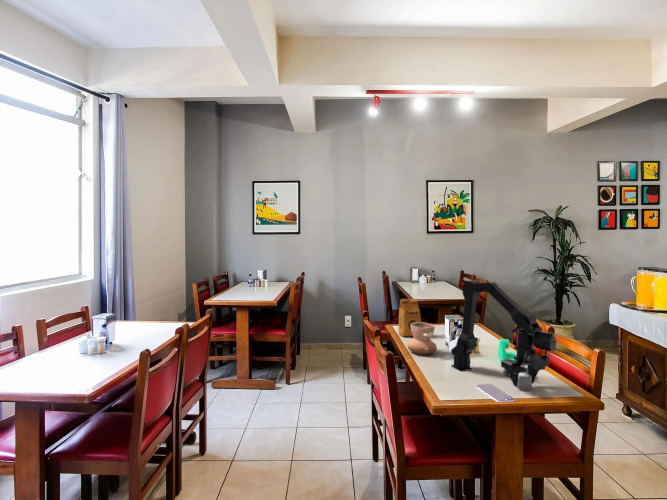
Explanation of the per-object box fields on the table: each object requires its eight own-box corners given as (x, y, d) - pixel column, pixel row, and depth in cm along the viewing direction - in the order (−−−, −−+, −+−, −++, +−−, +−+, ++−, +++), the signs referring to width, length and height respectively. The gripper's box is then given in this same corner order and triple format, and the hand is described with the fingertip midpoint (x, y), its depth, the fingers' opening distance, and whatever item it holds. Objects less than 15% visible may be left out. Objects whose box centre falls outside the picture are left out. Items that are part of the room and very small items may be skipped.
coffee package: (422, 337, 218) (423, 300, 217) (401, 337, 217) (402, 300, 216) (416, 333, 228) (417, 297, 227) (397, 333, 226) (397, 297, 226)
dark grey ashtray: (518, 381, 153) (518, 374, 153) (497, 372, 163) (497, 366, 163) (537, 377, 157) (538, 371, 157) (516, 368, 167) (516, 363, 167)
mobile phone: (491, 383, 149) (516, 399, 135) (491, 385, 149) (516, 402, 135) (473, 384, 148) (497, 400, 133) (473, 386, 148) (497, 403, 133)
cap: (524, 391, 143) (524, 378, 143) (512, 386, 148) (513, 373, 148) (534, 389, 145) (535, 376, 145) (522, 384, 150) (523, 371, 150)
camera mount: (520, 366, 172) (521, 343, 172) (502, 364, 174) (503, 342, 173) (514, 357, 184) (514, 337, 183) (497, 356, 186) (498, 335, 185)
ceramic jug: (440, 357, 182) (441, 328, 181) (411, 357, 182) (412, 328, 181) (430, 347, 200) (431, 321, 199) (403, 346, 200) (404, 320, 199)
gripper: (524, 353, 135) (523, 396, 136) (560, 348, 142) (559, 389, 143) (500, 345, 146) (499, 385, 146) (535, 340, 153) (534, 378, 153)
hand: (523, 384), depth 147 cm, fingers open, 8 cm apart
